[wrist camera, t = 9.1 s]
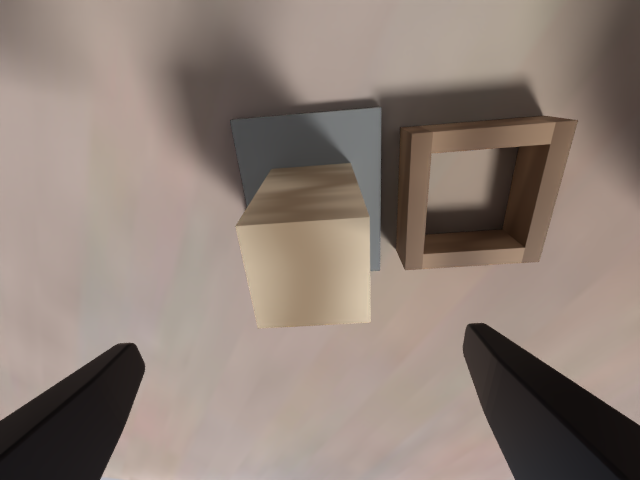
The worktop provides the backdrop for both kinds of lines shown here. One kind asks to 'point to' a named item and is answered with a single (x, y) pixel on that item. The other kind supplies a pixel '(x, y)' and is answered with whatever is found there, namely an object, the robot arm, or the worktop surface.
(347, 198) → the birch block
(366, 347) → the worktop surface
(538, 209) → the walnut pocket
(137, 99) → the worktop surface
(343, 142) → the slate mat
